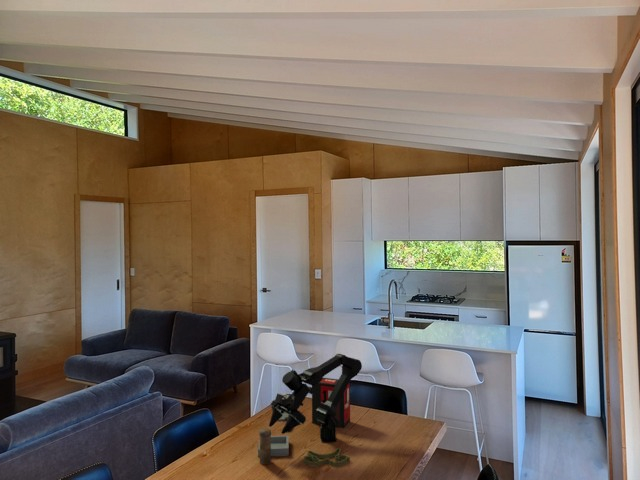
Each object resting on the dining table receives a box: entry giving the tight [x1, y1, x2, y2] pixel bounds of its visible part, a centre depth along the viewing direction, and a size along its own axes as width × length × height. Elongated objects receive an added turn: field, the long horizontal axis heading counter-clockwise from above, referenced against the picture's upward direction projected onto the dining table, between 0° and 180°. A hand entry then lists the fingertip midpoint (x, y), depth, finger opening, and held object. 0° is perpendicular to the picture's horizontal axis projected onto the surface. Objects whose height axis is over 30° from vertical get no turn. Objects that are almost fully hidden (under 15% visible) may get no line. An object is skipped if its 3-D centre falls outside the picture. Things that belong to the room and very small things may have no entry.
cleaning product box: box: [311, 377, 351, 429], centre depth 218 cm, size 16×9×20 cm, turn 67°
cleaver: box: [277, 410, 291, 432], centre depth 222 cm, size 29×10×2 cm, turn 4°
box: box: [257, 435, 290, 458], centre depth 189 cm, size 12×12×3 cm
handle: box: [259, 427, 272, 466], centre depth 178 cm, size 5×5×12 cm
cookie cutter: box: [303, 447, 351, 468], centre depth 180 cm, size 18×12×2 cm, turn 100°
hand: (275, 429), depth 181 cm, fingers open, 9 cm apart
